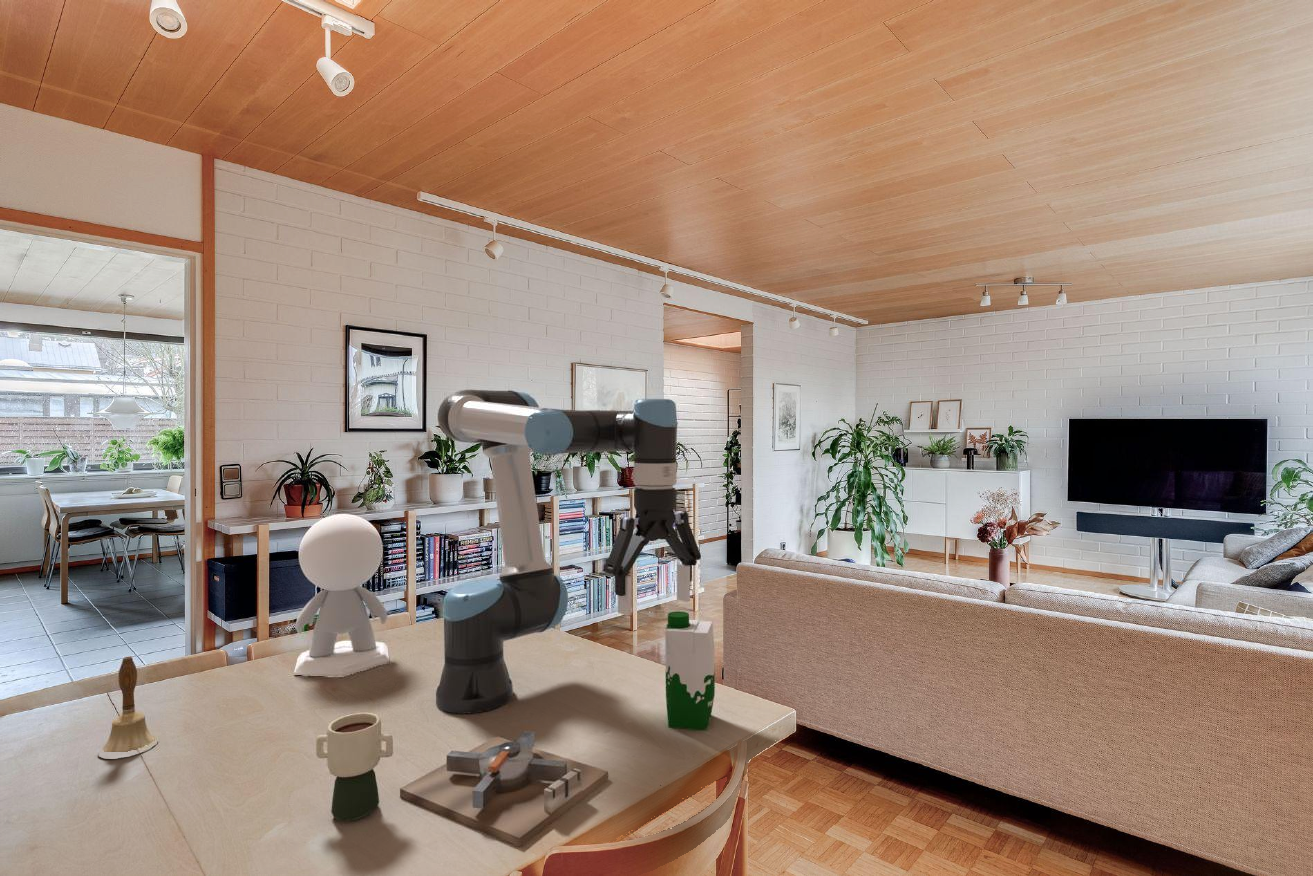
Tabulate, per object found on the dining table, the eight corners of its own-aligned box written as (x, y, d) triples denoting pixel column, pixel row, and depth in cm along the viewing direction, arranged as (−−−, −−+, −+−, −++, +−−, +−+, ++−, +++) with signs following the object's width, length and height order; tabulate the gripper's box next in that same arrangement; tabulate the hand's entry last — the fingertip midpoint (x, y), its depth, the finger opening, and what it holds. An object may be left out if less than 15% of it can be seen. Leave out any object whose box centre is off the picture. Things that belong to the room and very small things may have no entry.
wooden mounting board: (400, 796, 101) (399, 768, 101) (496, 743, 119) (496, 719, 118) (519, 847, 89) (519, 815, 89) (608, 779, 106) (608, 752, 106)
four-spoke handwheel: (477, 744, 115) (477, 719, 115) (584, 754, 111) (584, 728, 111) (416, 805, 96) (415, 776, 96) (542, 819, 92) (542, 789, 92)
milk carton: (671, 709, 132) (670, 607, 132) (717, 713, 130) (716, 609, 130) (662, 729, 123) (661, 620, 123) (711, 733, 122) (711, 622, 121)
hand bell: (169, 741, 120) (168, 652, 120) (119, 763, 112) (117, 668, 112) (137, 735, 123) (135, 647, 123) (86, 756, 115) (84, 662, 115)
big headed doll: (386, 642, 176) (384, 507, 175) (390, 671, 155) (388, 518, 154) (299, 653, 168) (297, 512, 167) (291, 685, 147) (288, 523, 146)
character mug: (402, 798, 101) (401, 711, 101) (384, 826, 94) (382, 733, 94) (329, 799, 101) (327, 712, 101) (305, 827, 94) (303, 734, 94)
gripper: (610, 493, 108) (610, 625, 109) (720, 484, 124) (719, 599, 125) (584, 489, 114) (584, 615, 114) (692, 481, 130) (691, 591, 130)
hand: (654, 607), depth 119 cm, fingers open, 13 cm apart
